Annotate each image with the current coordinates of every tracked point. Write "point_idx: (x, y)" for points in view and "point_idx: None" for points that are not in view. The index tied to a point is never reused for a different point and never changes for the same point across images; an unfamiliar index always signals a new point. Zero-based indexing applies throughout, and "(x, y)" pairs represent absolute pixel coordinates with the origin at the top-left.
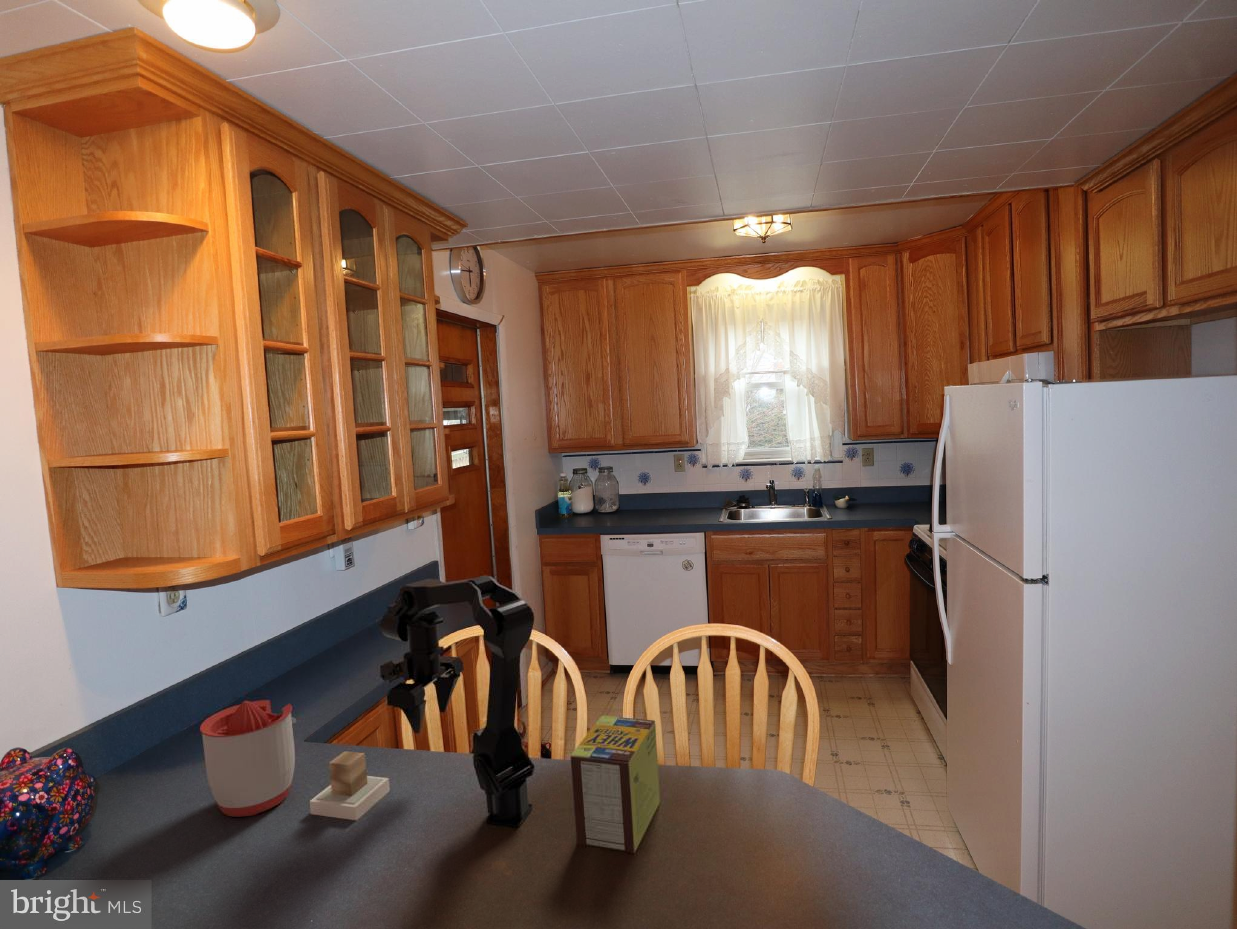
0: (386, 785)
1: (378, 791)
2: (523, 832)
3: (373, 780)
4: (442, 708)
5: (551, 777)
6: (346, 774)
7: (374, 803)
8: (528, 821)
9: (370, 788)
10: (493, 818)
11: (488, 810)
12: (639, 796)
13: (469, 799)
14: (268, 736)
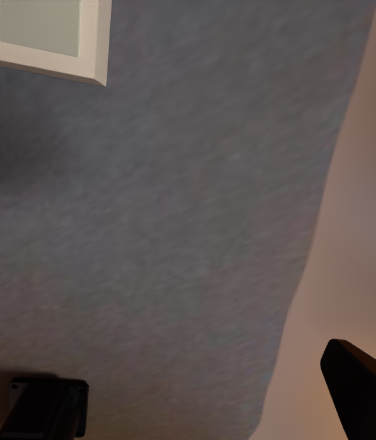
0: (83, 79)
1: (32, 68)
2: None
3: (61, 17)
4: (340, 381)
5: (193, 429)
6: None
7: (20, 69)
8: None
9: (2, 35)
10: (19, 394)
11: (26, 390)
12: None
13: (95, 319)
14: None
